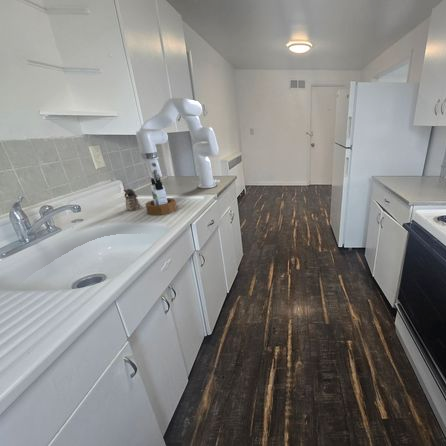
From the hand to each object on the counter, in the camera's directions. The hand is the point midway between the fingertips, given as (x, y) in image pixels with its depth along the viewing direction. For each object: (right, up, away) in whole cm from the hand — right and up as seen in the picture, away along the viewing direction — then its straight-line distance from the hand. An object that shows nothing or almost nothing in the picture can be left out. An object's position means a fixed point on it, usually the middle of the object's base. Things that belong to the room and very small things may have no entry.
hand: (157, 187), depth 138 cm
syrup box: (0, -12, +5) cm, 13 cm away
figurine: (-18, -11, +8) cm, 23 cm away
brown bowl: (0, -12, +5) cm, 13 cm away
